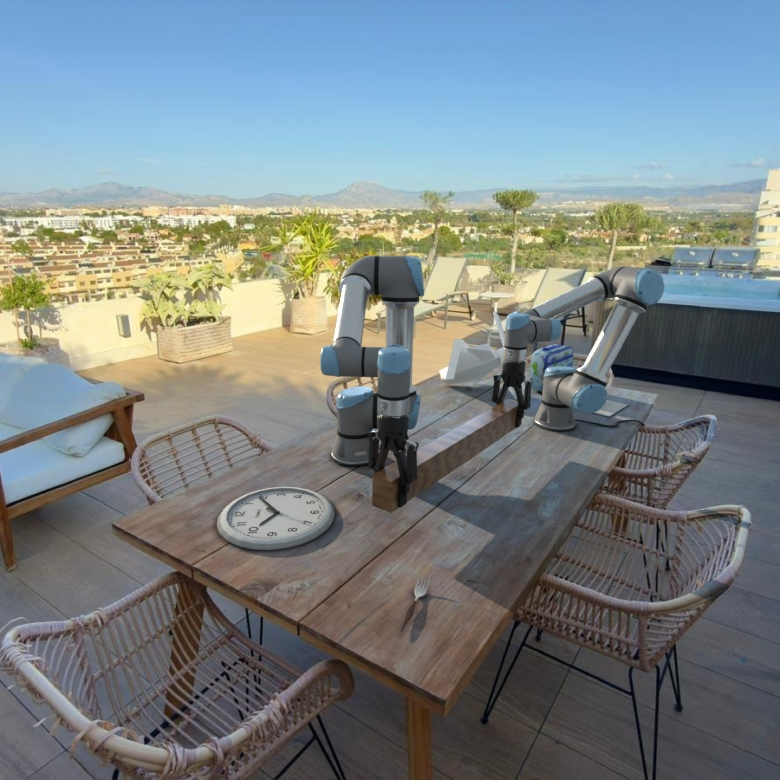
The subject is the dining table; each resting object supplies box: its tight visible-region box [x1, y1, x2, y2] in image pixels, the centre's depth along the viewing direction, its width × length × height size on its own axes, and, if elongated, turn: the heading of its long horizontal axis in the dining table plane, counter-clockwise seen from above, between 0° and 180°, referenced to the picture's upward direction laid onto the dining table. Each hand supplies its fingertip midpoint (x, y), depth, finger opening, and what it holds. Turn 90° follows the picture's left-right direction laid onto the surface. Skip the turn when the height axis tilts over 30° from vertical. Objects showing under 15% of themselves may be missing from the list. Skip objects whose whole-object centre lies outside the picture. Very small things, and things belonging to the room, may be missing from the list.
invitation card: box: [593, 399, 629, 418], centre depth 226 cm, size 21×1×15 cm
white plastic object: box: [438, 310, 525, 400], centre depth 245 cm, size 37×45×31 cm
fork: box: [400, 573, 431, 633], centre depth 105 cm, size 3×16×2 cm, turn 160°
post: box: [371, 398, 523, 514], centre depth 155 cm, size 77×6×8 cm, turn 143°
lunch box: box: [528, 344, 574, 393], centre depth 247 cm, size 26×11×21 cm, turn 134°
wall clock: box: [216, 486, 336, 551], centre depth 136 cm, size 30×2×30 cm
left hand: (391, 500), depth 130 cm, fingers closed on post, 6 cm apart
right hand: (508, 424), depth 182 cm, fingers closed on post, 6 cm apart
